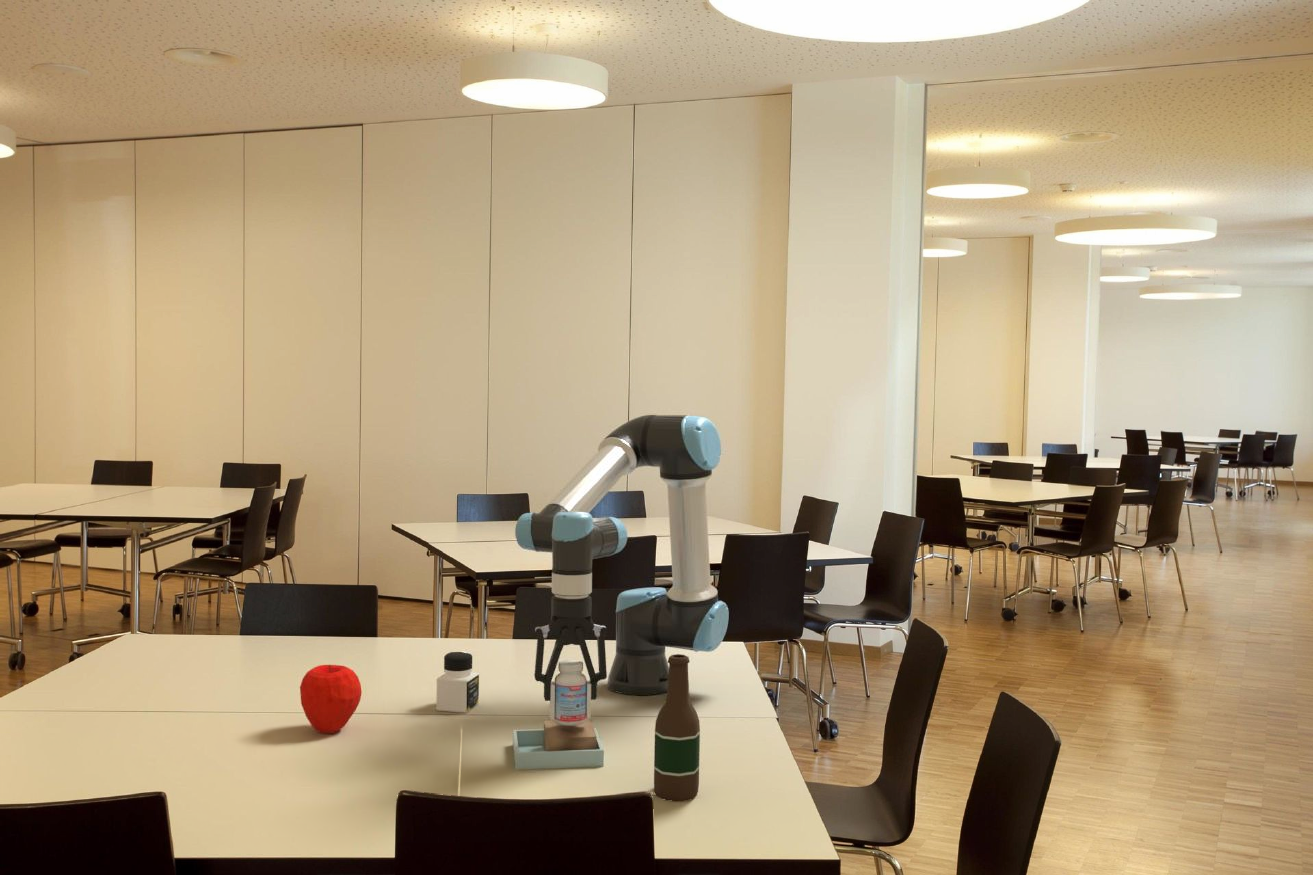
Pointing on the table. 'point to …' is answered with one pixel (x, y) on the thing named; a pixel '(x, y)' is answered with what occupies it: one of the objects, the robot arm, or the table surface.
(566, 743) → the walnut block
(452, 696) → the medicine bottle
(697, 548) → the robot arm
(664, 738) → the beer bottle
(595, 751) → the light blue tray
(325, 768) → the table surface
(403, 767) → the table surface
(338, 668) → the apple
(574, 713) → the pill bottle
